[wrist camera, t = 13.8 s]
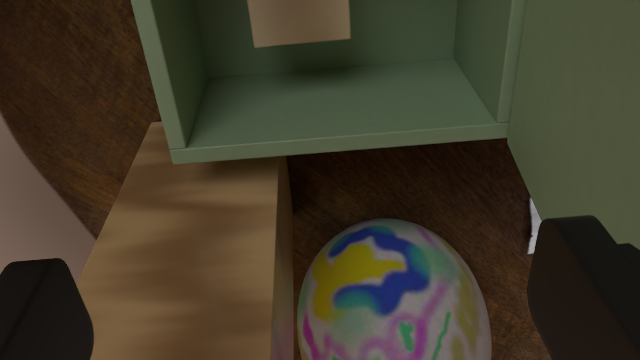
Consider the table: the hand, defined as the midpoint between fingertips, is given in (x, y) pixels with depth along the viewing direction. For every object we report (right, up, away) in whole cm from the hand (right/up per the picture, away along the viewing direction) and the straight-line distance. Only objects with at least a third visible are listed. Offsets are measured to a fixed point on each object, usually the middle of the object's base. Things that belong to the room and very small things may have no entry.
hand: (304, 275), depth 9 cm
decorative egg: (+5, -4, +31) cm, 32 cm away
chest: (0, +13, +19) cm, 23 cm away
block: (-1, +12, +19) cm, 23 cm away
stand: (-6, +2, +26) cm, 27 cm away
